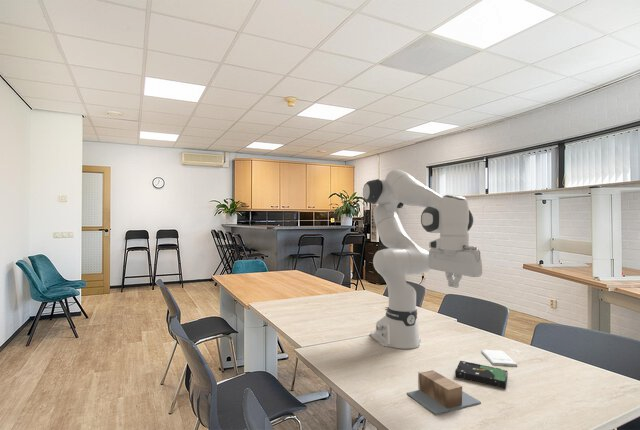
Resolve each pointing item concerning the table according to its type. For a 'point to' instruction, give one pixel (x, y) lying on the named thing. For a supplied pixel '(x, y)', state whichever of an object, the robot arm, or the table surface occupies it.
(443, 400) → the walnut block
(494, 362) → the external hard drive
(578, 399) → the table surface
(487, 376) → the disk drive
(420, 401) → the rubber mat
